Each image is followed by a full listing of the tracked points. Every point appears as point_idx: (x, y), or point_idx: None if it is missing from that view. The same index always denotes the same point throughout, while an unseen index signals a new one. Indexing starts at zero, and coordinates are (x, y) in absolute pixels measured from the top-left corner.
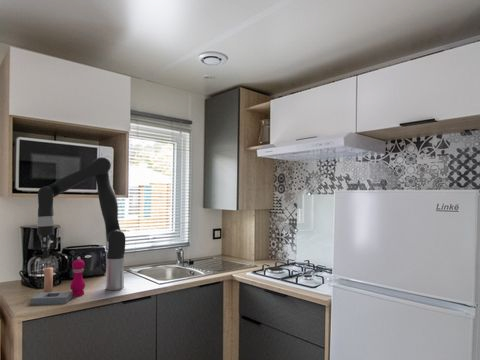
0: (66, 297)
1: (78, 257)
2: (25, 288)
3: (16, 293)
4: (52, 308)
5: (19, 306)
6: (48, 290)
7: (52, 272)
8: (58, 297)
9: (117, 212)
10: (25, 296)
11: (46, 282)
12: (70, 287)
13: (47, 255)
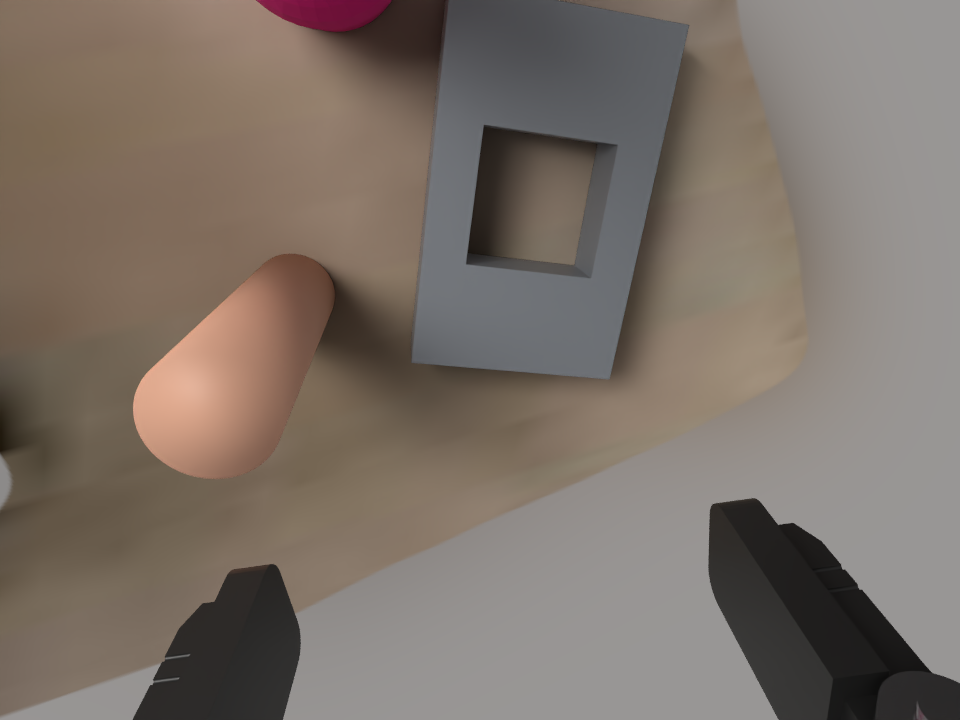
0: (680, 24)
1: None
2: (13, 562)
3: (197, 573)
4: (766, 144)
5: (605, 427)
6: (324, 295)
7: (241, 329)
8: (666, 116)
9: None
10: (312, 474)
11: (315, 348)
12: (361, 21)
13: (778, 535)
